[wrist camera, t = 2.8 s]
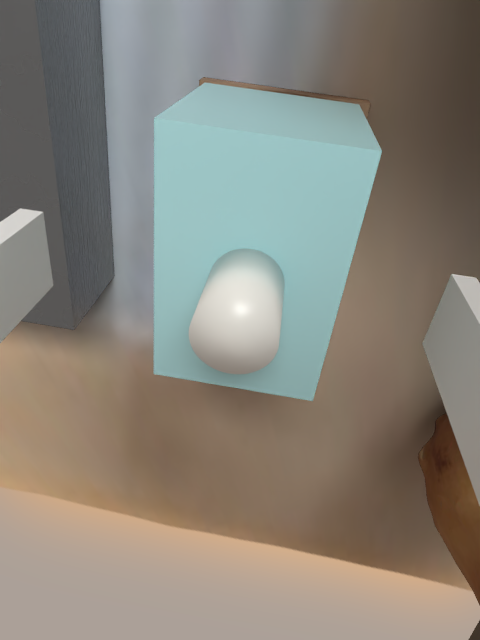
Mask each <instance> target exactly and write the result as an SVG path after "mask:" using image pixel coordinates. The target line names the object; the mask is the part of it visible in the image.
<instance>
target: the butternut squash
mask: <svg viewBox="0 0 480 640" xmlns="http://www.w3.org/2000/svg"><path fill="white" fill-rule="evenodd" d="M418 459H419V463H420V466H421V468H422V471H423V473H424V477H425V483H426V493H427V500H428V504H429V507H430V510H431V513H432V516H433V520H434V524H435V526H436V528H437V530H438V532H439V533H440V535H441V537H442V538H443V540H444V542H445V544H446V546H447V547H448V549H449V551H450V553H451V555H452V557H453V558H454V560H455V562H456V564H457V565H458V567H459V569H460V570H461V572H462V573H463V575H464V576H465V578H466V580H467V581H468V583H469V585H470V587H471V588H472V590H473V592H474V594H475V596H476V598H477V600H478V603H479V605H480V506H479V503H478V500H477V497H476V494H475V492H474V489H473V486H472V483H471V480H470V477H469V475H468V472H467V469H466V466H465V463H464V460H463V458H462V455H461V452H460V449H459V446H458V443H457V441H456V438H455V435H454V432H453V429H452V426H451V424H450V421H449V418H448V415H447V413H446V414H443V415H442V416H440V417H439V418H438V419H437V420H436V421H435V432H434V435H433V436H432V438H431V439H430V440H429V441H428V442H427V443H426V444H425V445H424V447H423V448H422V449H421V451H420V452H419V455H418Z"/></svg>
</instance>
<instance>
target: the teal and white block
mask: <svg viewBox="0 0 480 640" xmlns="http://www.w3.org/2000/svg"><path fill="white" fill-rule="evenodd" d="M381 153H382V150H381V148H380V146H379V144H378V142H377V140H376V138H375V136H374V134H373V132H372V129H371V127H370V125H369V123H368V121H367V119H366V117H365V115H364V113H363V111H362V109H361V107H360V105H359V104H353V103H346V102H339V101H332V100H325V99H318V98H311V97H304V96H297V95H290V94H283V93H276V92H269V91H262V90H254V89H247V88H240V87H233V86H226V85H219V84H212V83H203V84H202V85H201V86H199V87H198V88H196V89H195V90H193V91H192V92H191V93H189V94H188V95H186V96H185V97H183V98H182V99H181V100H179V101H178V102H176V103H175V104H173V105H172V106H171V107H169V108H168V109H166V110H165V111H163V112H162V113H161V114H159V115H158V116H156V117H155V118H154V374H157V375H163V376H169V377H174V378H180V379H186V380H192V381H198V382H204V383H210V384H215V385H221V386H227V387H233V388H239V389H245V390H251V391H256V392H262V393H268V394H274V395H280V396H286V397H291V398H297V399H303V400H309V401H313V399H314V395H315V391H316V388H317V384H318V381H319V377H320V373H321V370H322V366H323V363H324V359H325V355H326V352H327V348H328V345H329V341H330V337H331V334H332V330H333V326H334V323H335V319H336V316H337V312H338V308H339V305H340V301H341V298H342V294H343V290H344V287H345V283H346V280H347V276H348V272H349V269H350V265H351V262H352V258H353V254H354V251H355V247H356V244H357V240H358V236H359V233H360V229H361V225H362V222H363V218H364V215H365V211H366V207H367V204H368V200H369V197H370V193H371V189H372V186H373V182H374V179H375V175H376V171H377V168H378V164H379V161H380V157H381Z"/></svg>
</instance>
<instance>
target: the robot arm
mask: <svg viewBox="0 0 480 640" xmlns="http://www.w3.org/2000/svg"><path fill="white" fill-rule="evenodd" d="M52 286H53V279H52V272H51V265H50V257H49V250H48V243H47V236H46V228H45V221H44V214H43V212H41V211H34V210H28V209H21V208H20V209H19V210H17V211H16V212H14V213H13V214H11V215H10V216H8V217H7V218H6V219H4V220H3V221H1V222H0V343H1V342H2V341H3V340H4V339H5V337H6V336H7V335H8V334H9V333H10V332H11V331H12V330H13V329H14V328H15V327H16V326H17V324H18V323H19V322H20V321H21V320H22V319H23V318H24V317H25V316H26V315H27V314H28V313H29V311H30V310H31V309H32V308H33V307H34V306H35V305H36V304H37V303H38V302H39V301H40V300H41V298H42V297H43V296H44V295H45V294H46V293H47V292H48V291H49V290H50V289H51V288H52ZM422 344H423V347H424V350H425V353H426V356H427V358H428V361H429V364H430V367H431V370H432V373H433V375H434V378H435V381H436V384H437V387H438V390H439V392H440V395H441V398H442V401H443V404H444V407H445V409H446V412H447V415H448V418H449V421H450V424H451V426H452V429H453V432H454V435H455V438H456V441H457V443H458V446H459V449H460V452H461V455H462V458H463V460H464V463H465V466H466V469H467V472H468V475H469V477H470V480H471V483H472V486H473V489H474V492H475V494H476V497H477V500H478V503H479V506H480V283H479V281H478V280H477V278H475V277H469V276H462V275H455V274H451V276H450V279H449V281H448V284H447V286H446V288H445V291H444V293H443V295H442V298H441V300H440V303H439V305H438V307H437V310H436V312H435V315H434V317H433V319H432V322H431V324H430V326H429V329H428V331H427V334H426V336H425V338H424V341H423V343H422ZM469 640H480V621H479V623H478V624H477V626H476V628H475V630H474V631H473V633H472V635H471V636H470V638H469Z"/></svg>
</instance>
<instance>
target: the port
mask: <svg viewBox="0 0 480 640" xmlns="http://www.w3.org/2000/svg"><path fill="white" fill-rule="evenodd" d="M20 208H21V209H28V210H34V211H41V212H43V214H44V221H45V228H46V236H47V243H48V250H49V257H50V265H51V272H52V279H53V286H52V288H51V289H50V290H49V291H48V292H47V293H46V294H45V295H44V296H43V297H42V298H41V300H40V301H39V302H38V303H37V304H36V305H35V306H34V307H33V308H32V309H31V310H30V311H29V313H28V314H27V315H26V316H25V317H24V318H23V319H22V320H21V321H24V322H30V323H36V324H42V325H48V326H54V327H60V328H66V329H72V330H75V328H76V327H77V326H78V324H79V323H80V322H81V320H82V319H83V317H84V316H85V315H86V313H87V312H88V311H89V309H90V308H91V307H92V305H93V304H94V303H95V301H96V300H97V298H98V297H99V296H100V294H101V293H102V292H103V290H104V289H105V288H106V286H107V285H108V284H109V282H110V281H111V279H112V278H113V277H114V262H113V244H112V225H111V207H110V188H109V170H108V152H107V133H106V115H105V96H104V78H103V59H102V41H101V23H100V4H99V0H0V222H1V221H3V220H4V219H6V218H7V217H8V216H10V215H11V214H13V213H14V212H16V211H17V210H19V209H20Z"/></svg>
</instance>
